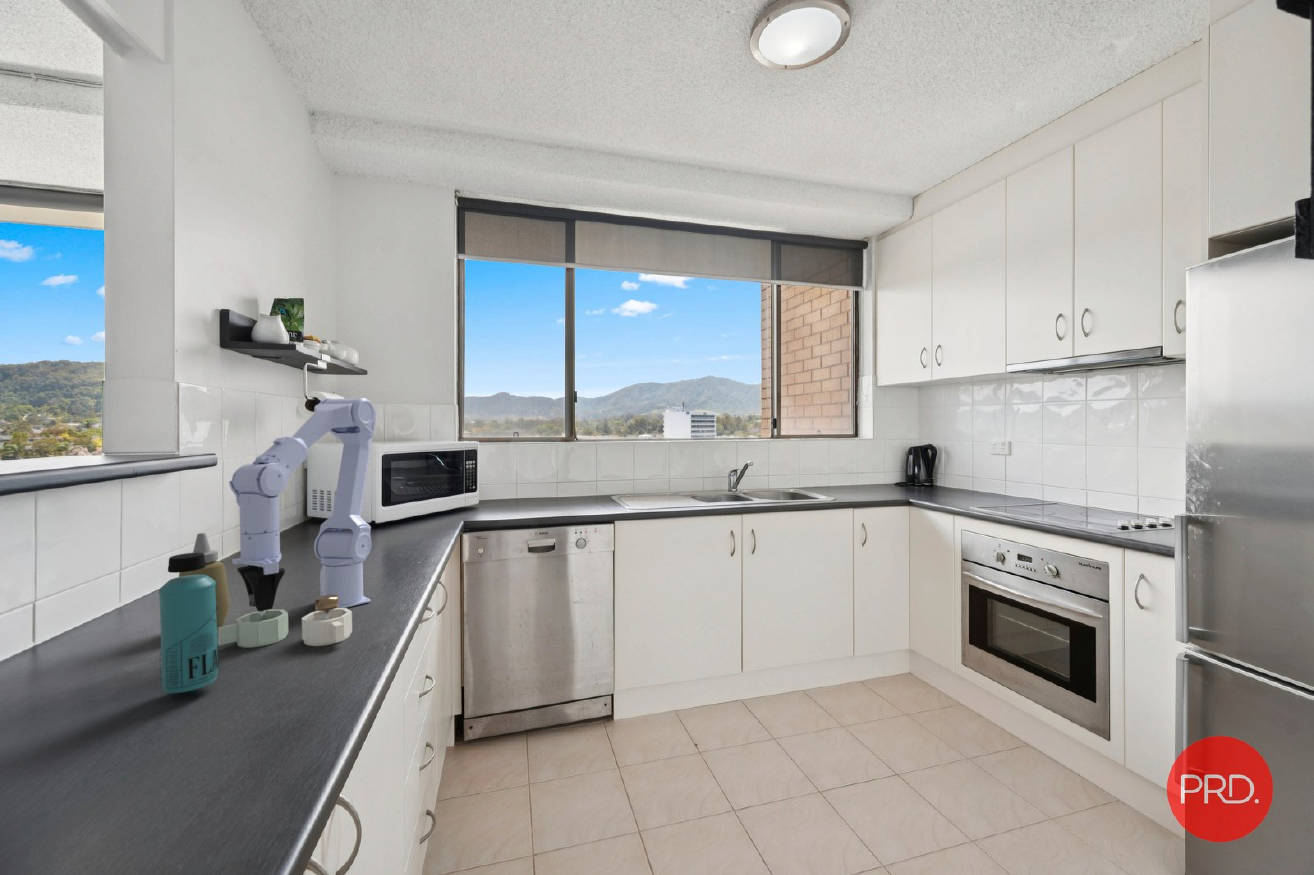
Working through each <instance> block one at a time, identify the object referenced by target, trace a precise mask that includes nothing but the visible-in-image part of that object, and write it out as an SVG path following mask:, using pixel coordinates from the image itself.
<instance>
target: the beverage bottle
mask: <svg viewBox="0 0 1314 875" xmlns="http://www.w3.org/2000/svg"><path fill="white" fill-rule="evenodd" d="M205 567H206V562H205V555H204V553H193V552H185V553H180V554H175V555H172V556H170V557H169V558H168V567H167V572H168V573H174V574H176V573H177V574H178V573H179V572H188V571H194V570H199V569H202V568H205ZM215 585H216V582H215V580H213V579H212V578H210V577H209V576H207V575H188V576H181V577H179V576H178V577H173V578H171V579H169V580H168V581H167V582H165V583H164V584H163V585H162V586H161V587H160V589H159V590H158V594H159V596H158V597H159V616H160V617H159V618H160V619H159V620H160V621H159V622H160V623H159V624H160V640H159V642H160V645H159V646H160V647H159V648H160V650H159V662H160V667H159V670H160V671H159V672H160V673H159V678H160V681H161V682H160V683H159V684H160V685H161V688H162V690H163V691H164V692H165V693H167V694H168V693H169V694H177V693H179V694H180V693H186V692H191V691H194V690H198V689H201V688H204V687H206V686H209V685H211V684H212V683H214V682H215V681H216V680H217V678H218V676H219V674H220V665H219V664H220V661H219V651H220V647H219V646H220V645H219V644H218V637H219V636H218V628H217V626H218V625H217V623H218V622H217V616H216V614H217V613H216V610H217V612H218V608H217V609H216V592H215ZM217 604H218V601H217ZM217 607H218V606H217Z"/></svg>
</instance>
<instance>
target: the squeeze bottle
mask: <svg viewBox="0 0 1314 875" xmlns="http://www.w3.org/2000/svg"><path fill="white" fill-rule="evenodd" d="M196 535H197V536H196V538H195V542H194V547H193V551H192V553H204V555H205V562H206V567H205V568H202V569H199V570H194V571H188V572H178V573H179V574H178V577H181V576H188V575H207V576H209V577H210V578H212V579H213V580H215V582H216V585H215V592H216V609H217V608H218V612H217V610H216V613H217V614H216V616H217V622H218V623H217V625H218V626H217V629H218V627H221V626H224V624H225V621H226V618H227V615H228V614H229V610H230V609H231V608H230V606H231V599H230V594H229V593H230V592H229V586H228V580H227V573H226V566H225V563H223V562H221V561H219V560H218V559H219V552H218V550H213V549H211V546H210V543H209V540H208V538H207V534H206V533H205V532H199V533H197V534H196ZM217 601H218V604H217ZM217 606H218V607H217Z"/></svg>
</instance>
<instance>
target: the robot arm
mask: <svg viewBox="0 0 1314 875" xmlns="http://www.w3.org/2000/svg"><path fill="white" fill-rule="evenodd" d="M377 414H378V413H377V410H376V408H375V407H374V405H373V403H372V401H370V400H369V399H368V398H365V397H360V398H329V397H327V398H324V399H322V400H321V401H320V402H319V403H318V404H316V405H315V406H314V410H313V414H312V415H311V416H310V417H309V418H308V419H307V420H306V421H305V422H304V424H302V426H301V427H300V428H298V430H297V431H296V432H295V433H294V434H293V435H292V436H283V437H277V438H275V439H274V440H273V441H272V443H273V444H272V445H271V446H270V447H269V448H268V449H266V450H265V451H264V452H263V453H262V454H259V455H258V456H256V457H255V460H254V461H253V462H252V463H247V464H243V465H241V466H240V467H238V469H236V470H235V471H234V472H233V474H232V478H231V480H229V482H228V483H229V487H230V490H231V492H232V493H233V494H234V496H235V500H236V502H235V503H236V504H237V506H238V507H239V536H240V539H239V540H240V541H239V542H240V545H239V546H240V557H238V558H233V559H231V562H232V565H240V564H241V565H244V566H240V567H237V569H236V570H237V572H238V573H239V576H241V577H242V579H243V582H244V585H245V588H246V591H247V596H248V597H249V594H251V593H253V595H254V601H255V605H256V607H255V608H256V612H259V611H264V610H273V608H274V607H273V606H274V604H275V599H276V595H277V590H278V588H279V585H280V583H281V580H282V578H283V577H284V575H285V573H286V568H284V567H281V568H279V566H280V565H279V562H280V561H281V559H282V552H281V537H280V533H281V532H280V529H281V528H280V498H279V497H280V495H281V493H283V492H285V490H286V488H287V485H288V482H289V479H290V478H291V475H292V473H294V471H295V470H296V469H297V468H298V467H300V465H301V464H302V463H304V462H305V461H306V460H307V458H308V457H309V451H308V449H309V448H311V446H313V445H314V444H315V443H317V442H318V441H319V440H320V439H321V438H323V437H324V436H325V435H327V434H328V433H331V434H332V435H333V436H334V437H335V438H337V439H339V440H340V441H341V443H342V444H343V447H342V454H341V461H340V465H339V466H340V467H339V472H338V478H337V485H336V491H335V498H334V504H333V509H332V515H331V516H330V517H329V518H327V519H326V520H325V521H324V522H322V523H321V524H320V528H319V531H318V535H317V536H316V538H315V540H314V543H313V552H314V555H315V556H316V557H317V558H318V559H319V560H320V564H321V565H322V567H321V569H320V572H319V579H320V580H319V582H320V585H319V586H320V596H324V595H338V599H339V606H338V607H337V608H350V607H354V606H358V605H362V604H366V603H370V602H372V601H371V599H370V598H368V597H366V596H364V576H363V575H364V573H363V572H364V569H363V568H364V566H363V565H364V564H363V561H366V560H367V557H368V556H369V554H370V553H371V551H372V550H371V549H372V537H371V529H372V526H371V525H370V524H369V523H368V522H366V521H365V520H364V519H363V518H362V517H361V516H362V510H363V505H364V504H363V503H364V497H365V491H366V490H365V489H366V482H367V477H368V476H367V475H368V468H369V464H370V463H369V461H370V458H371V457H370V456H371V449H372V442H373V437H374V435H375V434H374V433H375V426H376V419H377ZM348 530H349V531H348Z"/></svg>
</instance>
